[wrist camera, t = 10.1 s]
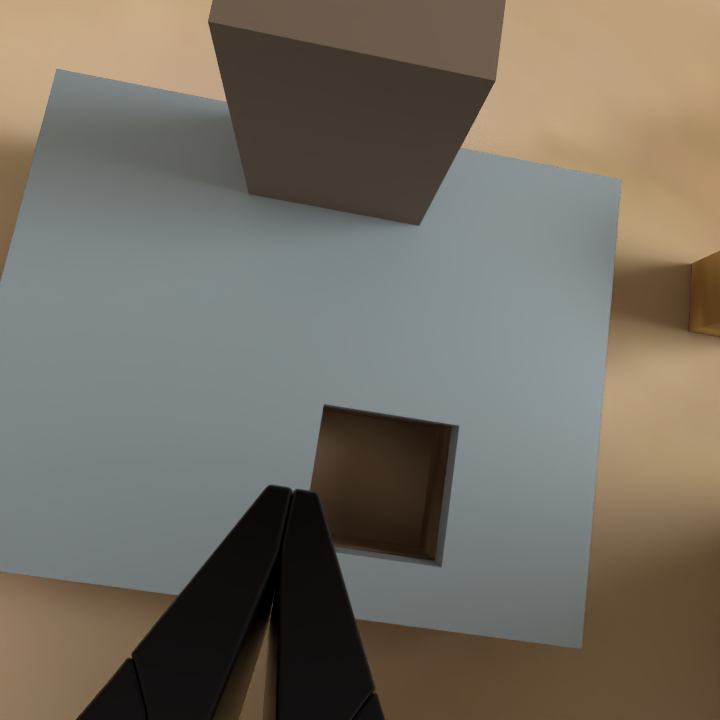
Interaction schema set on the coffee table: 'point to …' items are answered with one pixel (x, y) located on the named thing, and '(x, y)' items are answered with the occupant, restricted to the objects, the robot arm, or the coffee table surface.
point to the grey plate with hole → (306, 314)
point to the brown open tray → (381, 481)
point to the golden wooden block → (705, 296)
